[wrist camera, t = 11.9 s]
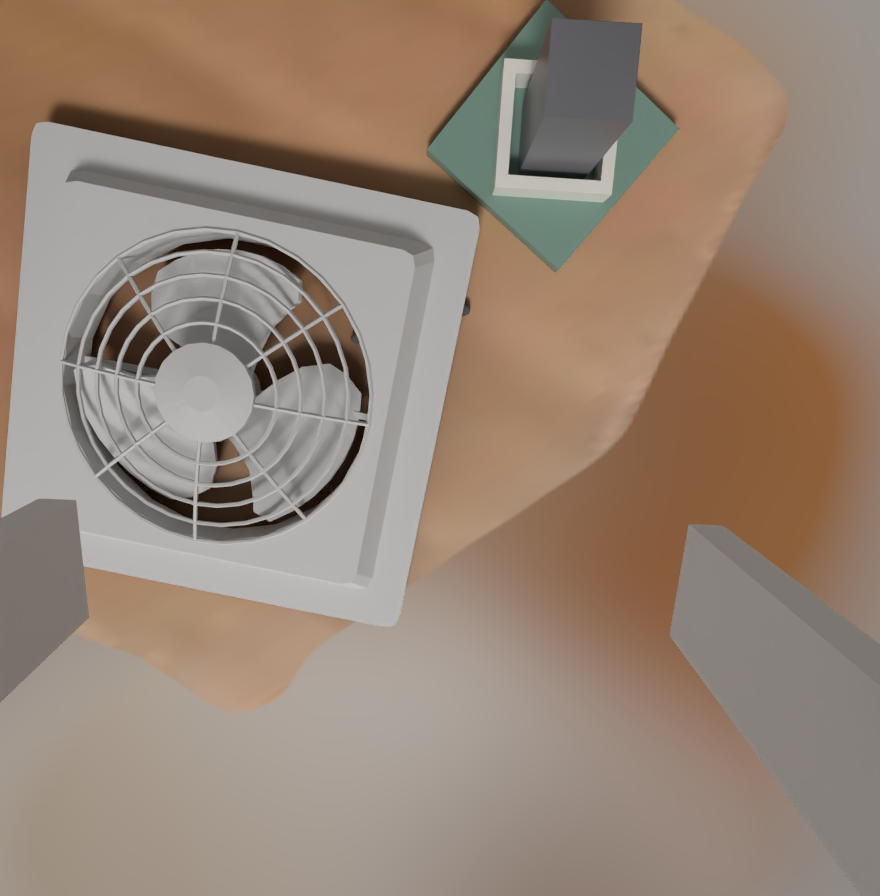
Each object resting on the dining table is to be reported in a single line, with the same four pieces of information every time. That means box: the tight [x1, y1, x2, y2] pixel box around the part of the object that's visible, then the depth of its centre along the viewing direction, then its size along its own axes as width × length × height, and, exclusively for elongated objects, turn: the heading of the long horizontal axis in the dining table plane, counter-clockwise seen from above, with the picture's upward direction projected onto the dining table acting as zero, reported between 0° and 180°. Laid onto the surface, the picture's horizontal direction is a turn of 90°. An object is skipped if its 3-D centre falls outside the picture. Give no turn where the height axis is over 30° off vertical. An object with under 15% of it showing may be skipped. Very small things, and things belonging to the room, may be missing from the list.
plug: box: [518, 18, 642, 180], centre depth 34 cm, size 4×5×10 cm
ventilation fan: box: [1, 122, 480, 627], centre depth 39 cm, size 30×6×30 cm
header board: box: [427, 0, 679, 272], centre depth 38 cm, size 12×12×3 cm
